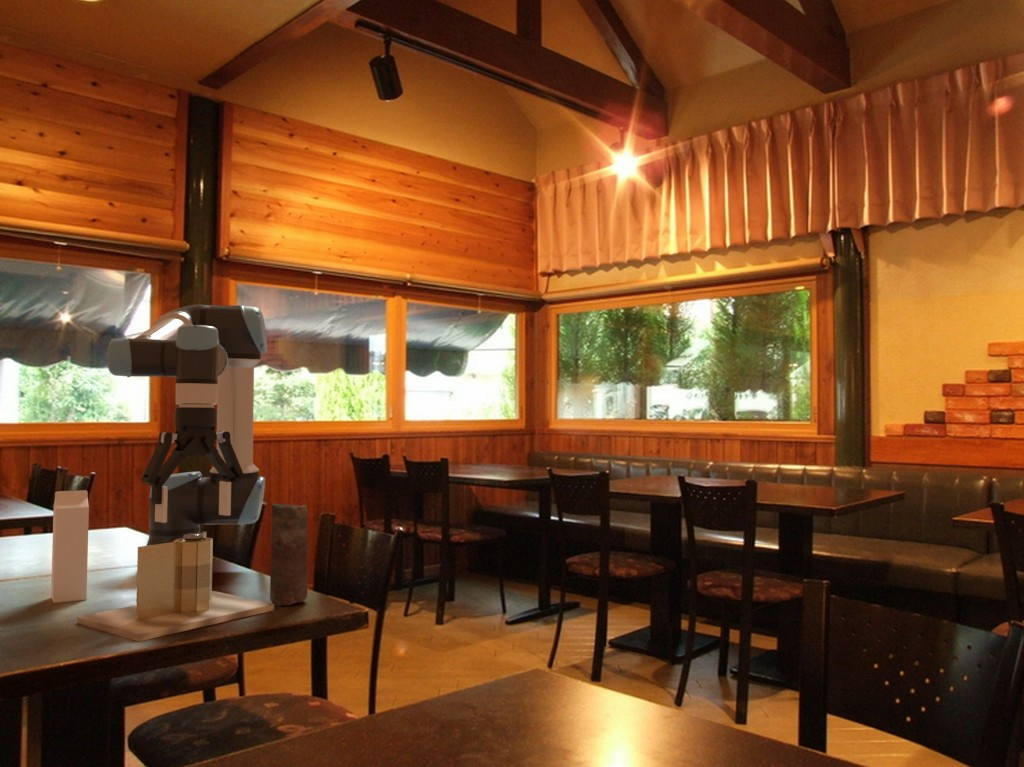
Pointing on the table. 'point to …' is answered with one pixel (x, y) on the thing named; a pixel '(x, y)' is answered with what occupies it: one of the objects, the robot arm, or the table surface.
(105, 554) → the table surface
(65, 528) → the milk
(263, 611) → the board
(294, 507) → the candle
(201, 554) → the hinge
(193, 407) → the robot arm
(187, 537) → the hinge pin
